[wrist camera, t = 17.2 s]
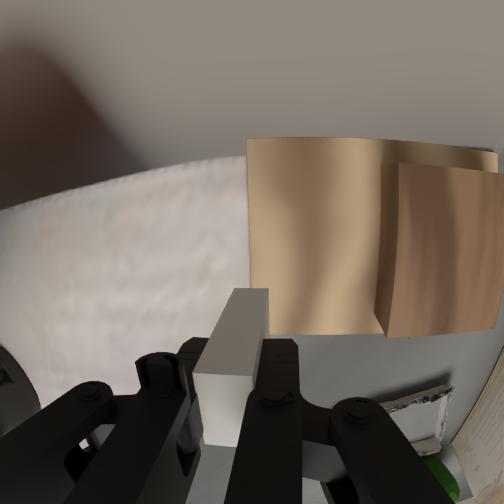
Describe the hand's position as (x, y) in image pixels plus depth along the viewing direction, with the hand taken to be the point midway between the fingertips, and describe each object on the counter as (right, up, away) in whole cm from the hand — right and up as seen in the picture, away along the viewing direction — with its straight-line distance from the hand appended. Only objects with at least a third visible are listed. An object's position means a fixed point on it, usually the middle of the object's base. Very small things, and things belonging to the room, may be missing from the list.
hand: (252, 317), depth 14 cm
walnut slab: (+10, +3, +7) cm, 12 cm away
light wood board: (+11, +4, +10) cm, 15 cm away
